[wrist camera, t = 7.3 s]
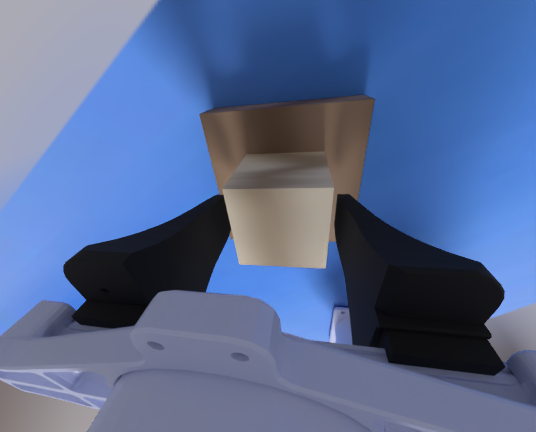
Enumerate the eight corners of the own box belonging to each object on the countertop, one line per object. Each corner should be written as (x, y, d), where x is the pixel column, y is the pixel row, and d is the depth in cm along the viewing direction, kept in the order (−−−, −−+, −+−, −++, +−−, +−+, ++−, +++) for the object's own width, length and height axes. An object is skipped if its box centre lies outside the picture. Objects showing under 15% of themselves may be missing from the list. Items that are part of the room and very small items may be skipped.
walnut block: (362, 93, 14) (374, 98, 11) (345, 220, 19) (350, 242, 17) (216, 107, 15) (199, 114, 13) (239, 219, 21) (231, 238, 18)
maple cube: (324, 151, 13) (334, 187, 9) (320, 217, 16) (325, 268, 12) (246, 154, 14) (222, 189, 10) (255, 216, 17) (239, 264, 13)
